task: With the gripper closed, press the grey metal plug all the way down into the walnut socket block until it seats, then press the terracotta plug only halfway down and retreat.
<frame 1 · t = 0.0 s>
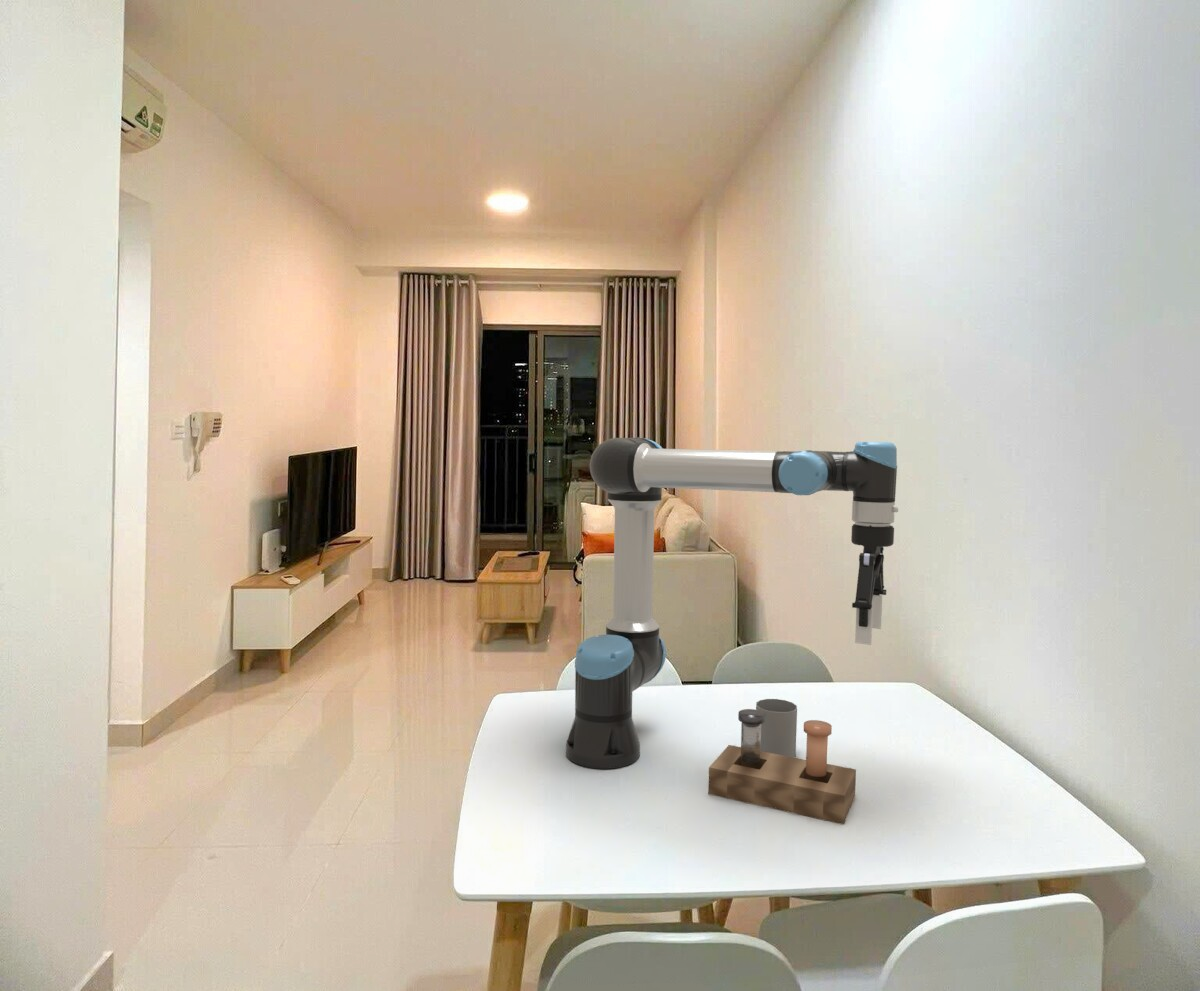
hand: (868, 635, 149), 28 cm above the table, fingers open, 13 cm apart
cup: (775, 753, 163), on the table
plug grey: (751, 736, 146), point 10 cm above the table, slide at 0.0 cm
socket block: (781, 795, 144), on the table
plug terracotta: (816, 748, 140), point 10 cm above the table, slide at 0.0 cm
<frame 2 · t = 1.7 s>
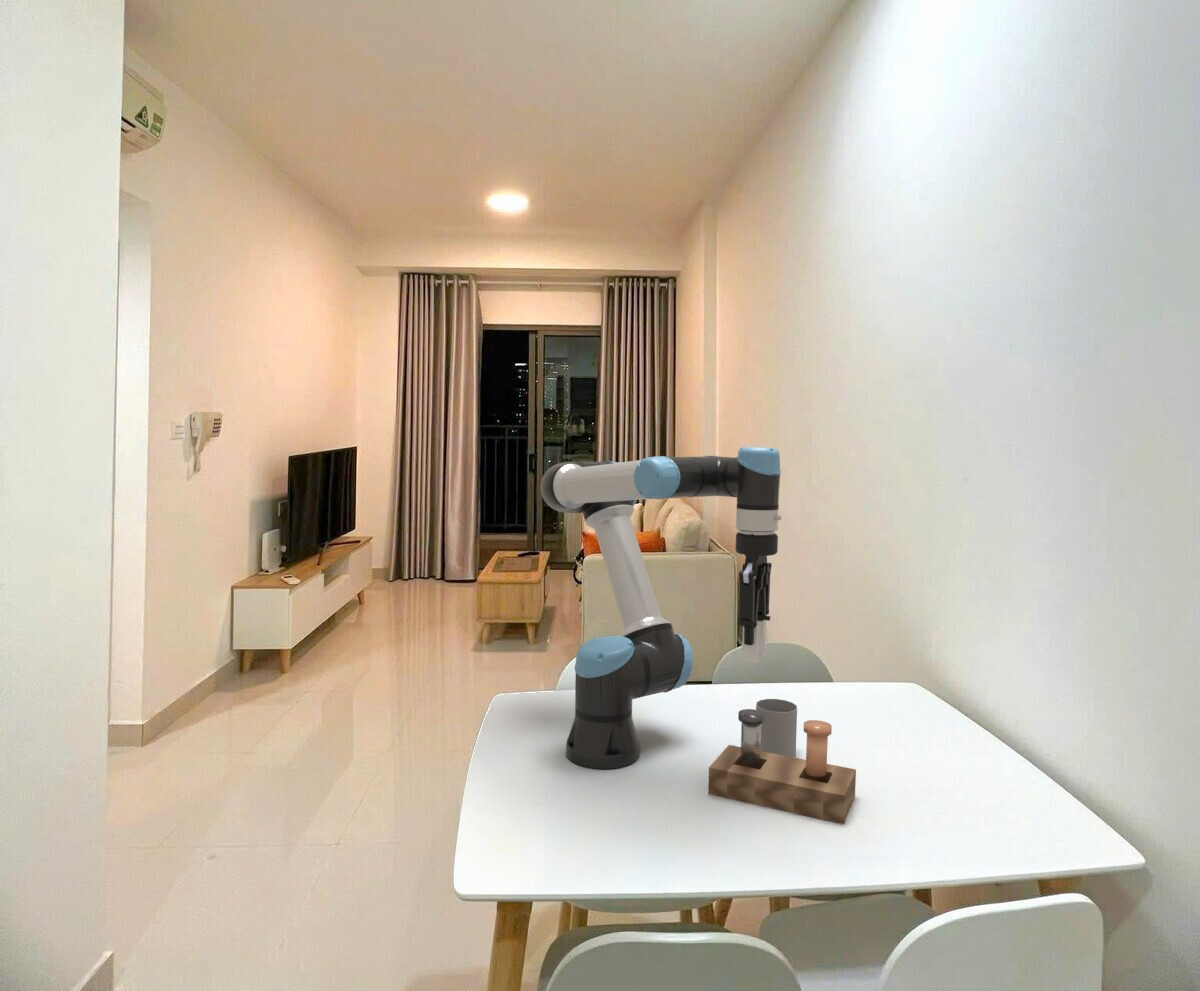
hand: (753, 658, 145), 25 cm above the table, fingers open, 4 cm apart
nothing on the table moved.
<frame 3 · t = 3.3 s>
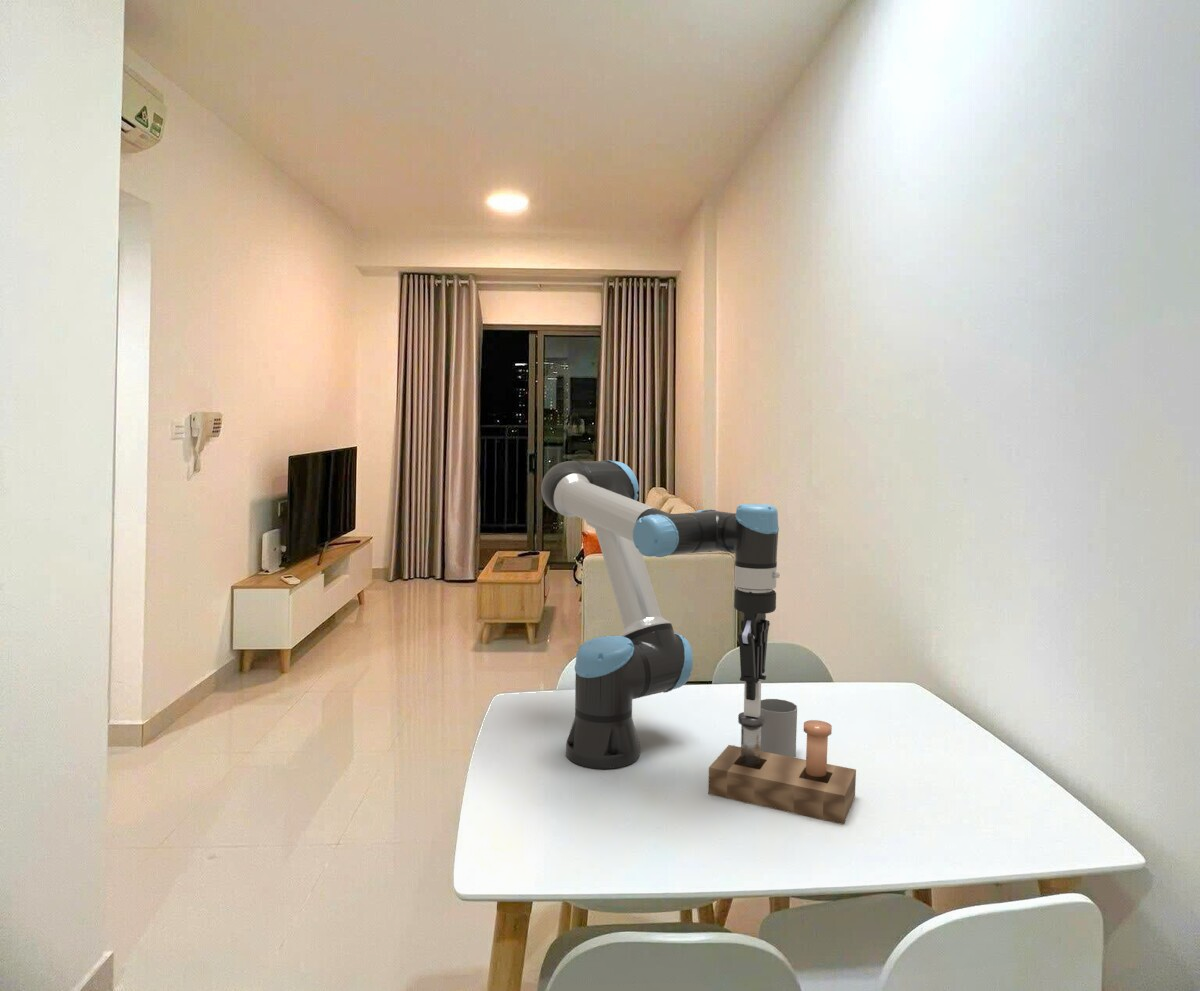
hand: (752, 715, 145), 14 cm above the table, fingers closed
plug grey: (750, 739, 146), point 9 cm above the table, slide at 0.5 cm, touching gripper
everything else where it was.
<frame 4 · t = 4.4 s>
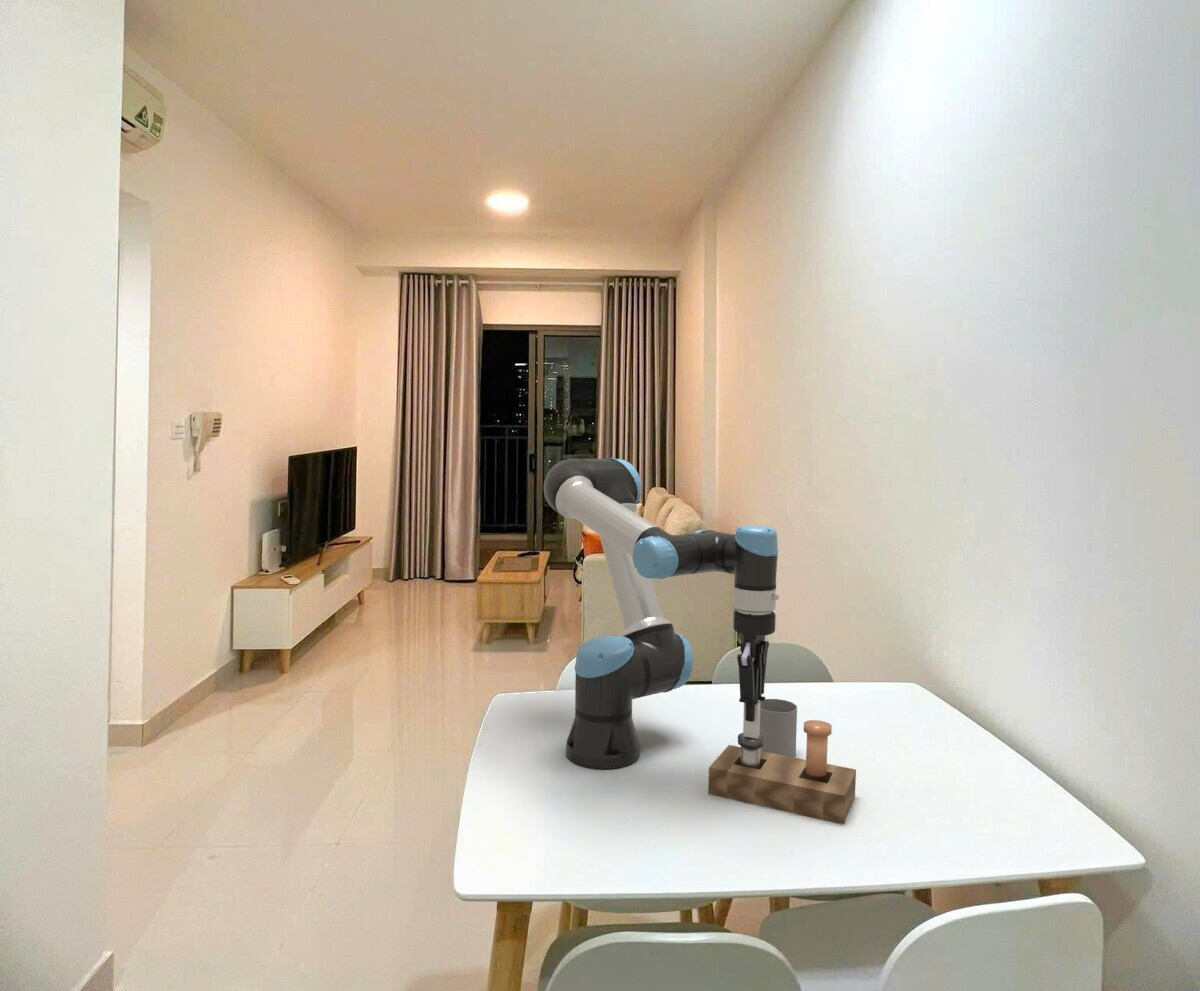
hand: (751, 736, 146), 10 cm above the table, fingers closed
plug grey: (750, 759, 146), point 5 cm above the table, slide at 4.5 cm, touching gripper
everything else where it was.
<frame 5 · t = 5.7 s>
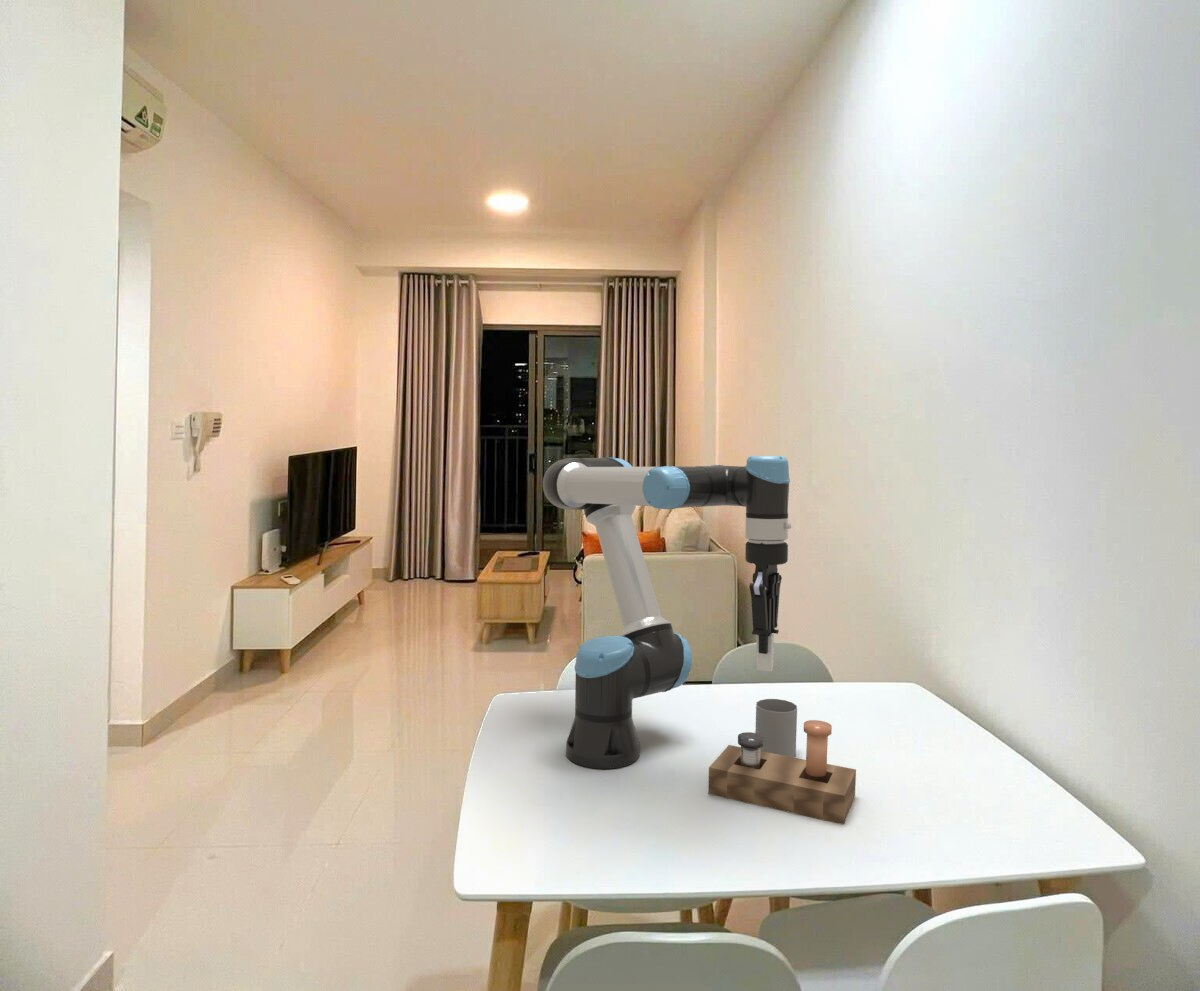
hand: (764, 669, 143), 23 cm above the table, fingers closed
plug grey: (750, 759, 146), point 5 cm above the table, slide at 4.5 cm
everything else where it was.
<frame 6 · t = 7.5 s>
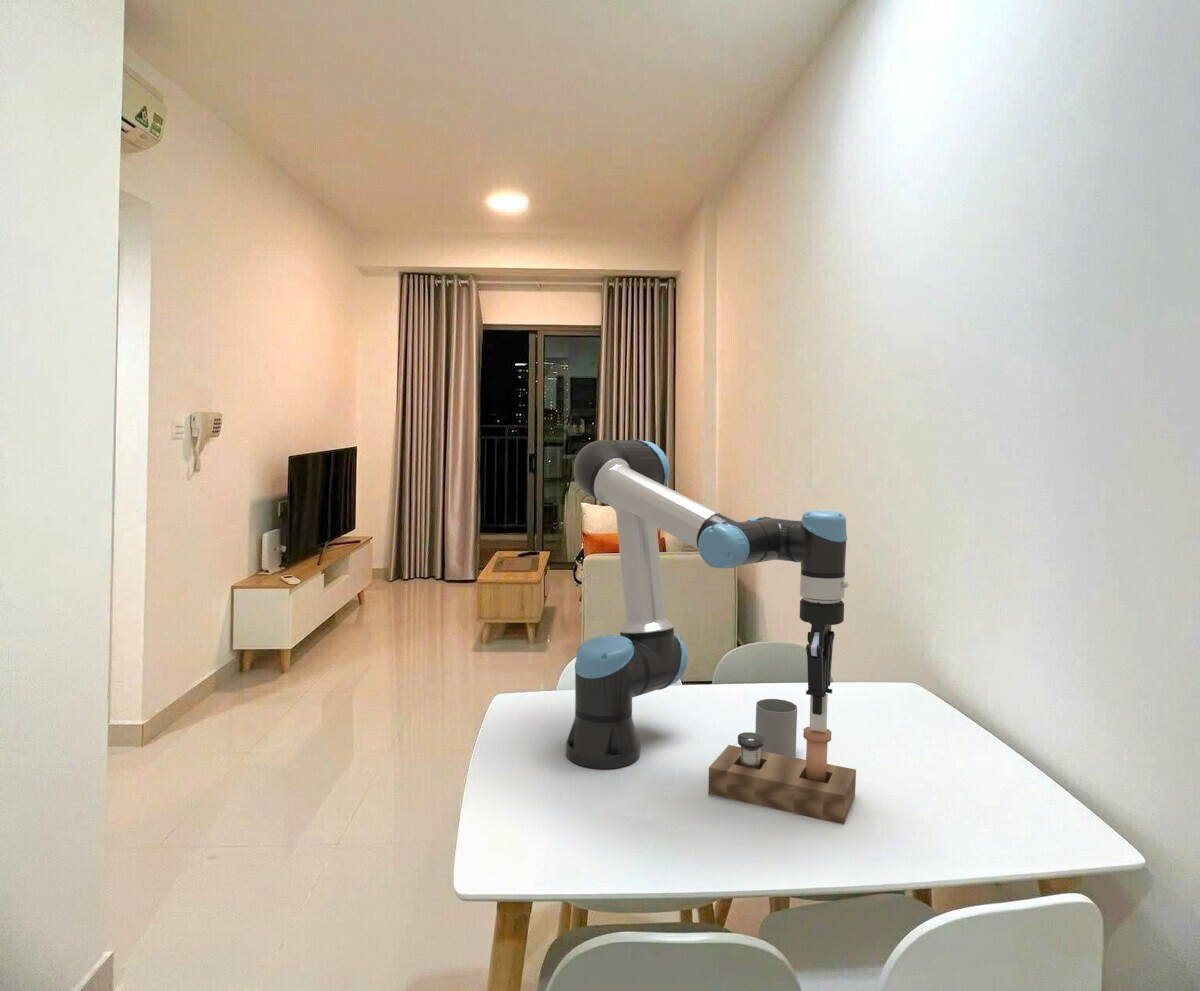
hand: (818, 729, 140), 13 cm above the table, fingers closed
plug terracotta: (816, 754, 140), point 9 cm above the table, slide at 1.1 cm, touching gripper
everything else where it was.
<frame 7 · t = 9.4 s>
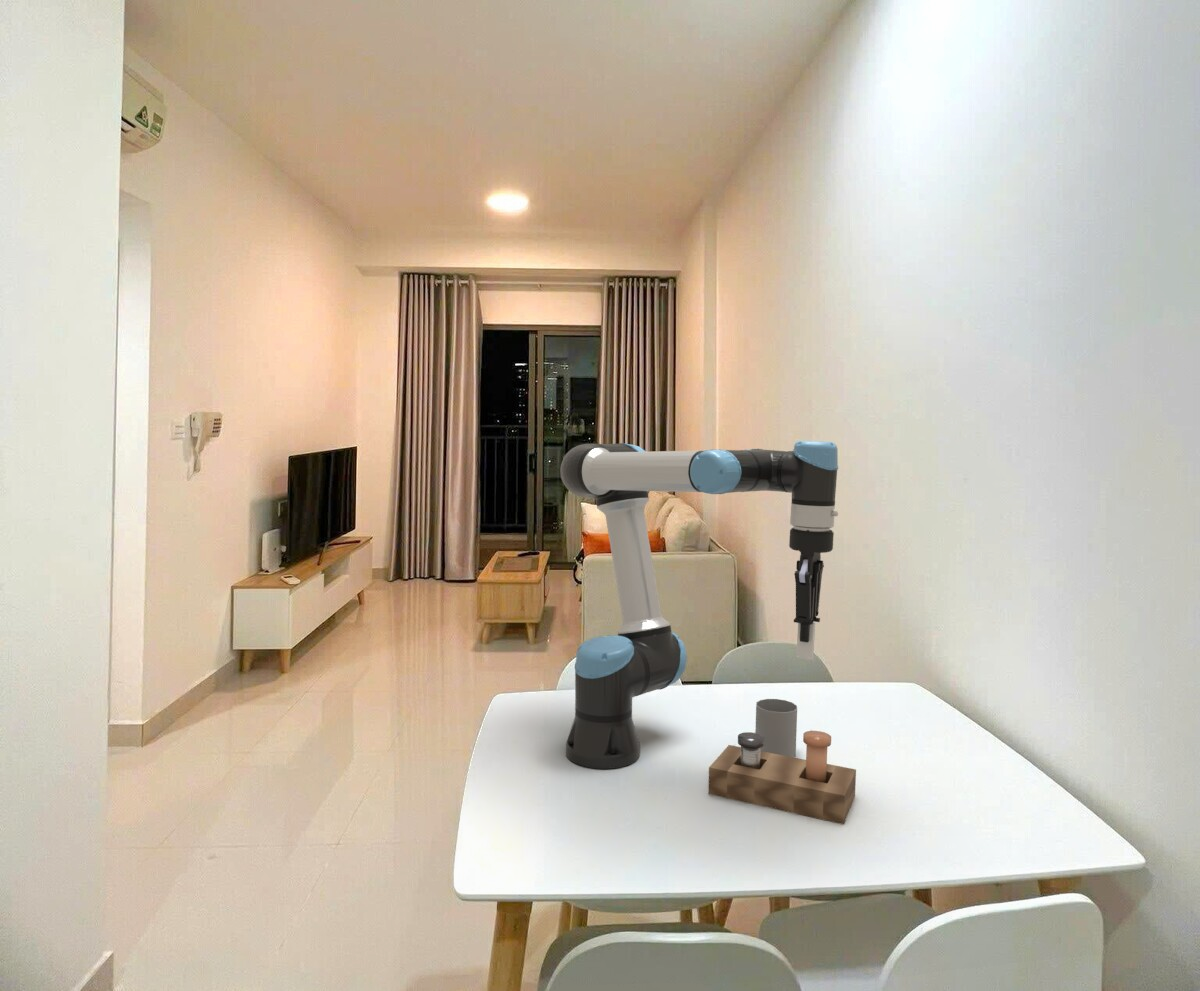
hand: (804, 657, 142), 26 cm above the table, fingers closed
plug terracotta: (816, 759, 140), point 8 cm above the table, slide at 2.0 cm
everything else where it was.
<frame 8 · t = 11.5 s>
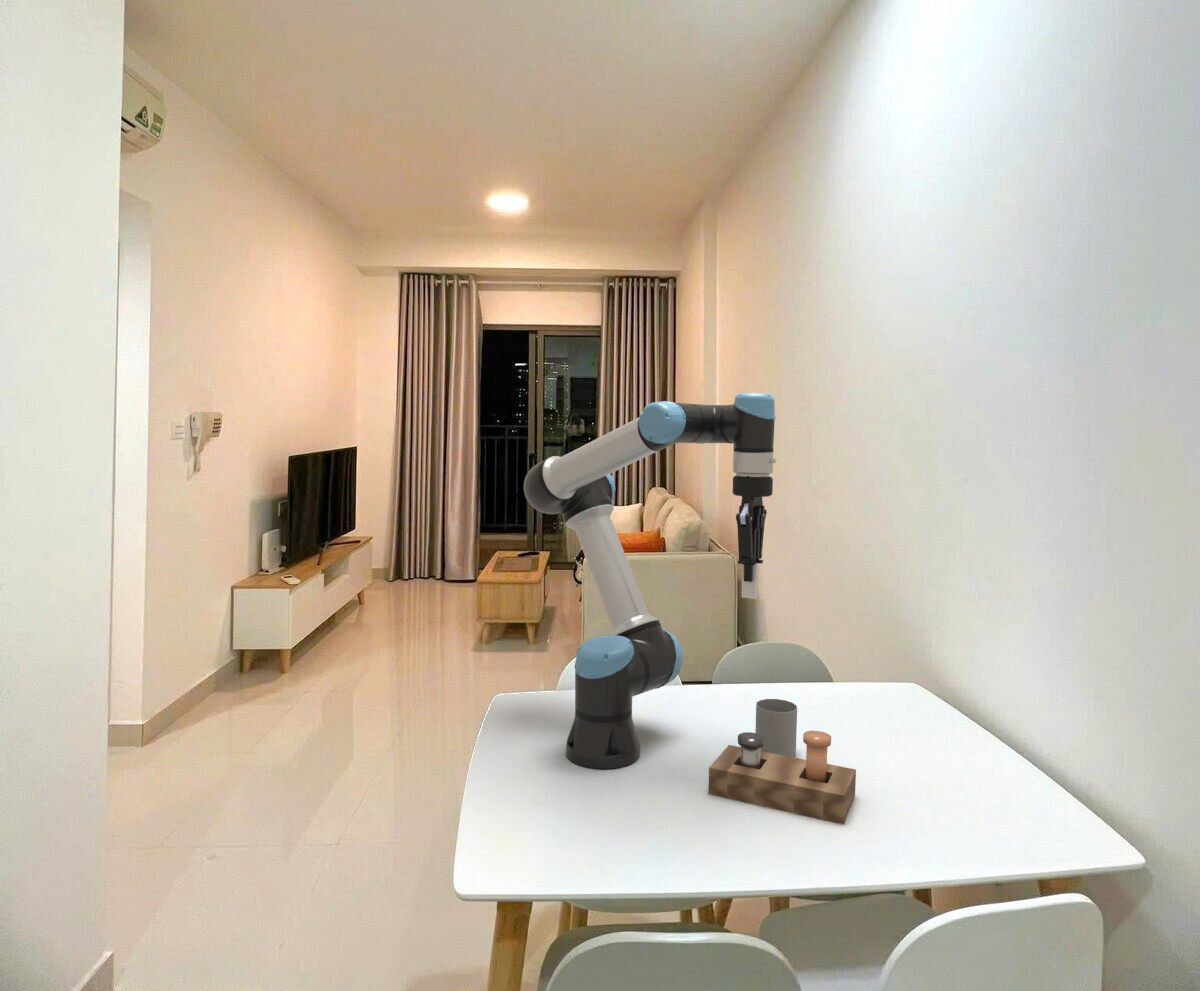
hand: (749, 597, 151), 34 cm above the table, fingers closed
nothing on the table moved.
at the end: plug grey slide at 4.5 cm; plug terracotta slide at 2.0 cm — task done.
